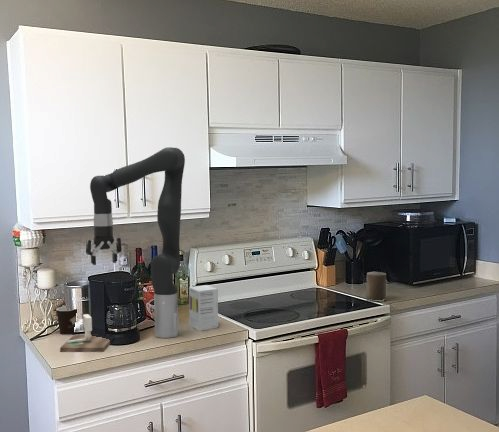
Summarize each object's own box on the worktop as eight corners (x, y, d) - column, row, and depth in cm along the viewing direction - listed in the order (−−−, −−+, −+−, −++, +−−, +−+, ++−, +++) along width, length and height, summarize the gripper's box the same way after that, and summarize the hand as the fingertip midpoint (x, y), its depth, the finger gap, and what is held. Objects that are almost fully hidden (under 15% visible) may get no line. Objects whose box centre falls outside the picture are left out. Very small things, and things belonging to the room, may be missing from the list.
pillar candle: (381, 303, 286) (382, 273, 285) (363, 300, 291) (363, 271, 290) (388, 299, 294) (389, 270, 293) (369, 297, 299) (370, 268, 298)
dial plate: (114, 338, 229) (114, 334, 229) (103, 351, 213) (103, 347, 213) (73, 338, 229) (73, 334, 229) (60, 351, 213) (60, 347, 213)
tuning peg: (89, 337, 224) (88, 314, 223) (92, 342, 219) (91, 317, 218) (66, 341, 220) (65, 316, 220) (69, 345, 215) (68, 320, 214)
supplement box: (188, 325, 247) (188, 286, 246) (207, 322, 252) (207, 284, 251) (199, 331, 239) (198, 290, 238) (218, 327, 244) (218, 288, 243)
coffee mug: (61, 336, 232) (60, 312, 232) (54, 331, 239) (53, 307, 239) (89, 331, 239) (88, 307, 238) (81, 326, 246) (81, 303, 245)
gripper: (116, 222, 243) (117, 260, 245) (83, 224, 235) (84, 264, 237) (123, 224, 237) (124, 263, 239) (89, 226, 229) (90, 266, 231)
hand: (104, 263), depth 238 cm, fingers open, 8 cm apart
